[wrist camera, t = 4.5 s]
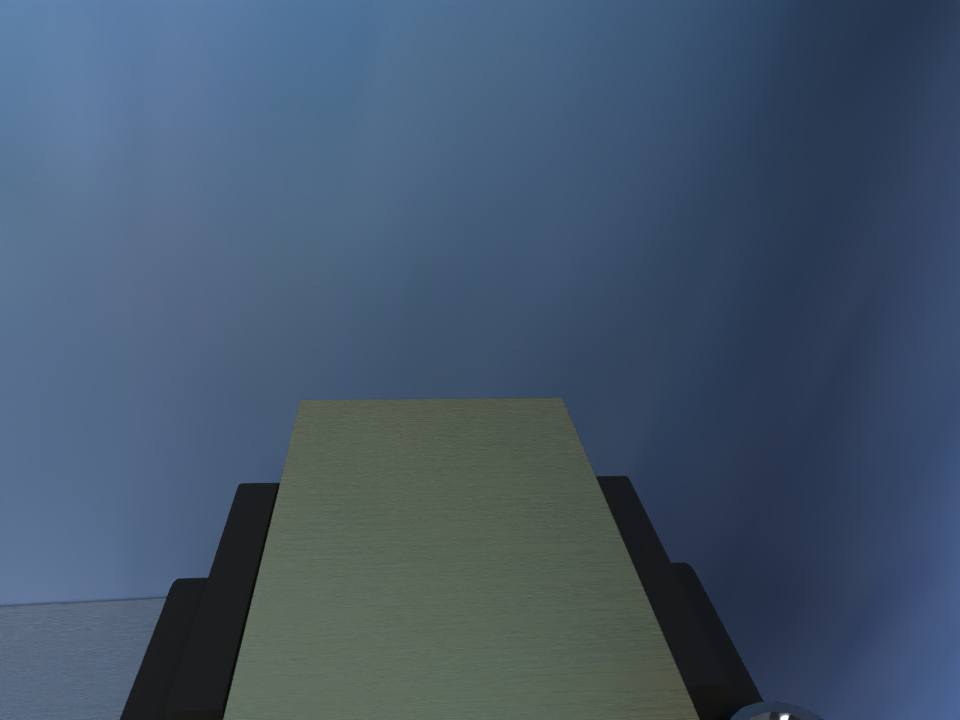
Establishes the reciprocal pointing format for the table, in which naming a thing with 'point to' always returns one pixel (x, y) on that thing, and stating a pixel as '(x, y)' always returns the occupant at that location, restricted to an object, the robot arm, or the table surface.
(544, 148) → the table surface
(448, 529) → the brass block
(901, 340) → the table surface
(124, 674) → the grey block holder tray
